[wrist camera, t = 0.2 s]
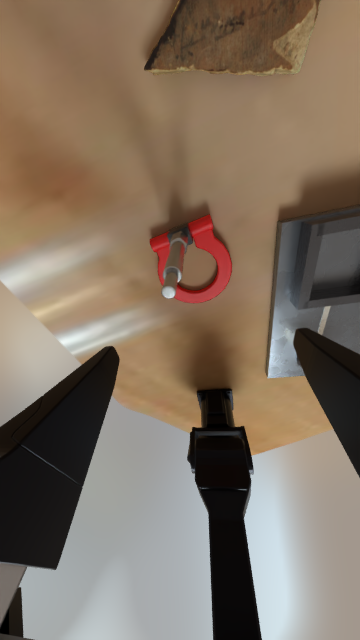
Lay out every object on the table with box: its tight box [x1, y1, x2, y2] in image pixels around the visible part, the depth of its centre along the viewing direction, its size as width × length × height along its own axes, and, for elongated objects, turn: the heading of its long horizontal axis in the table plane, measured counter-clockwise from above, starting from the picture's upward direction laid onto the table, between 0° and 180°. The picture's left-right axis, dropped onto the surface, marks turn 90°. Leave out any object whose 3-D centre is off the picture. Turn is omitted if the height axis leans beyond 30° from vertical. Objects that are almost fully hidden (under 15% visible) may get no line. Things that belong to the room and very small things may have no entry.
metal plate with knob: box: [266, 205, 360, 378], centre depth 21 cm, size 23×12×7 cm, turn 12°
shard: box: [144, 0, 321, 76], centre depth 11 cm, size 11×8×2 cm
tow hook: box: [150, 214, 232, 303], centre depth 17 cm, size 8×13×9 cm
